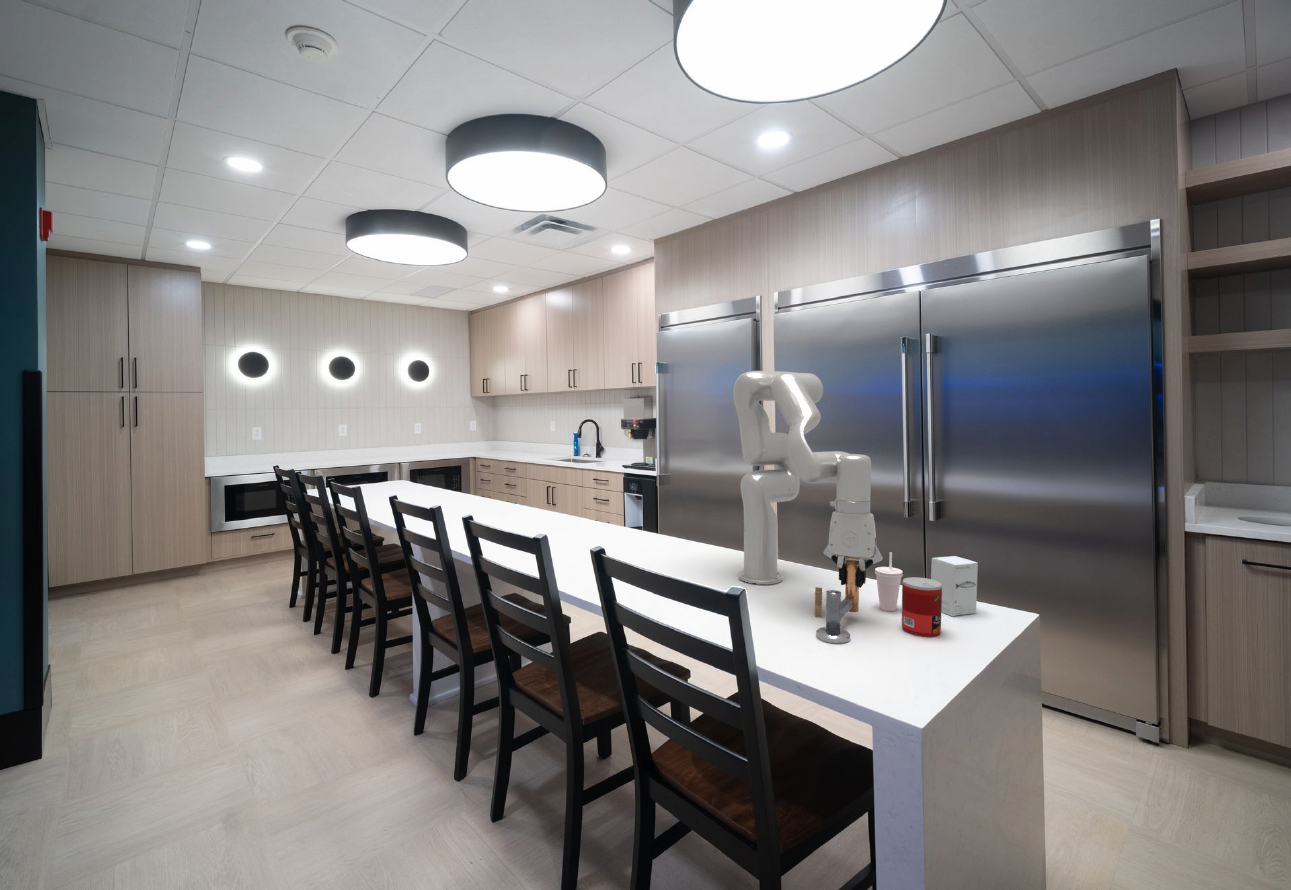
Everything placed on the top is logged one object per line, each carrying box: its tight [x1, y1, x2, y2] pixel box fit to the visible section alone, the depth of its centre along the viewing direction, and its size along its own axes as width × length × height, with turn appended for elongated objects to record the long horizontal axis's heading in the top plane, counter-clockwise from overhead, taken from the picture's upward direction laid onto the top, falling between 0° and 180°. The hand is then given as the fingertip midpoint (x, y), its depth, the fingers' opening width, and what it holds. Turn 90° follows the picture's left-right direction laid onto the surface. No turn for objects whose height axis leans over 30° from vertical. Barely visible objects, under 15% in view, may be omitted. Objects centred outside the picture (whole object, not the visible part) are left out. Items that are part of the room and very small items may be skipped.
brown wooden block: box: [814, 586, 823, 619], centre depth 142 cm, size 4×2×6 cm, turn 163°
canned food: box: [901, 576, 942, 638], centre depth 132 cm, size 8×8×11 cm
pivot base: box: [815, 626, 851, 645], centre depth 128 cm, size 7×7×1 cm
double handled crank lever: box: [825, 557, 860, 634], centre depth 134 cm, size 17×3×13 cm, turn 145°
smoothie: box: [874, 552, 904, 612], centre depth 146 cm, size 6×6×14 cm
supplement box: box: [930, 555, 979, 617], centre depth 144 cm, size 7×7×13 cm
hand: (852, 584), depth 139 cm, fingers closed on double handled crank lever, 3 cm apart
